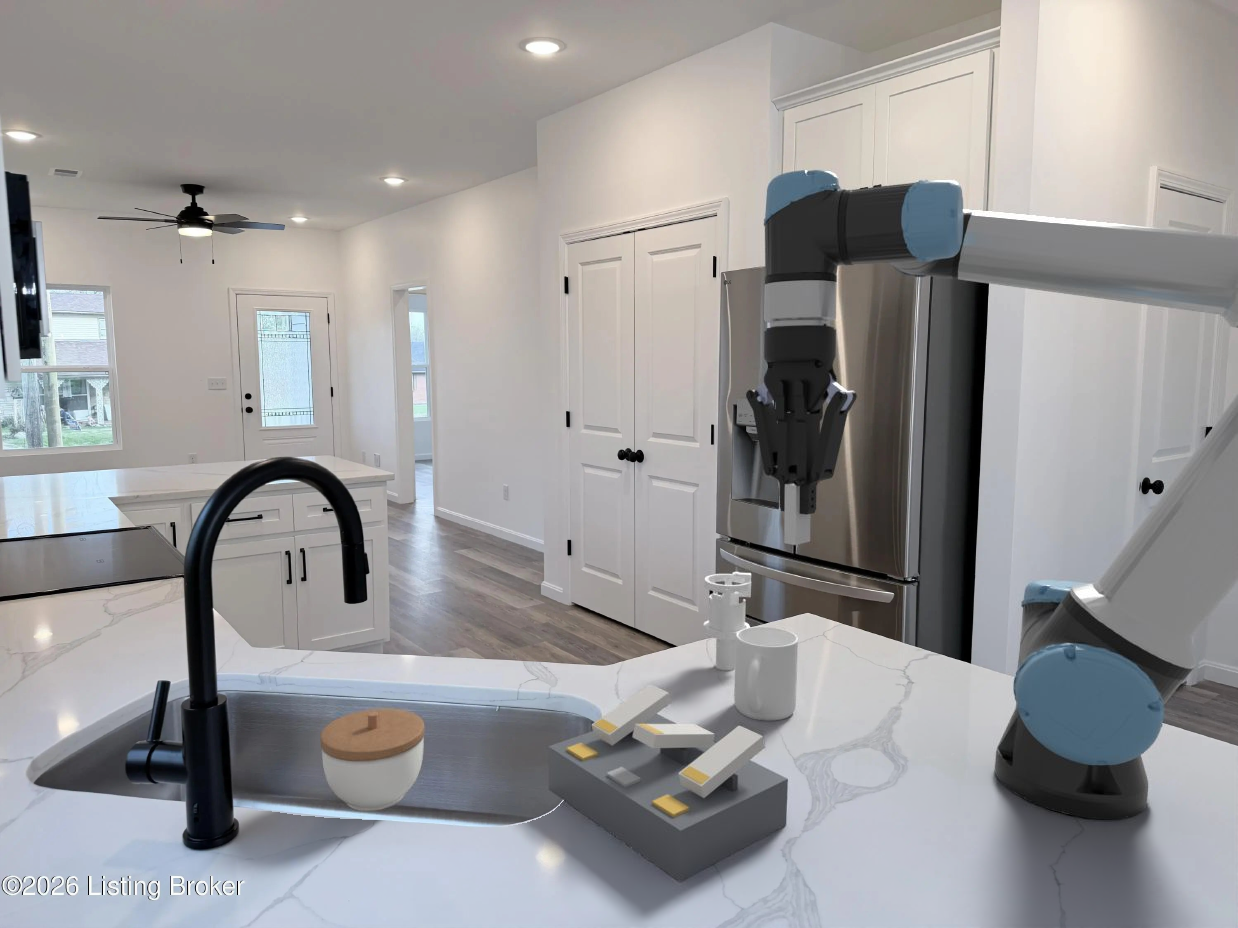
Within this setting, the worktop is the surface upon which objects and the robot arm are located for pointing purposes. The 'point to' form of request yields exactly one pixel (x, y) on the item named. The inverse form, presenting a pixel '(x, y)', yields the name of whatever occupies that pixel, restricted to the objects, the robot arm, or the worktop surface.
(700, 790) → the switch
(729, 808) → the switch unit
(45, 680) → the worktop surface
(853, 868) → the worktop surface
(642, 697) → the switch
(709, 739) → the switch
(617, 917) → the worktop surface
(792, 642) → the mug
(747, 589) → the white plastic fitting
